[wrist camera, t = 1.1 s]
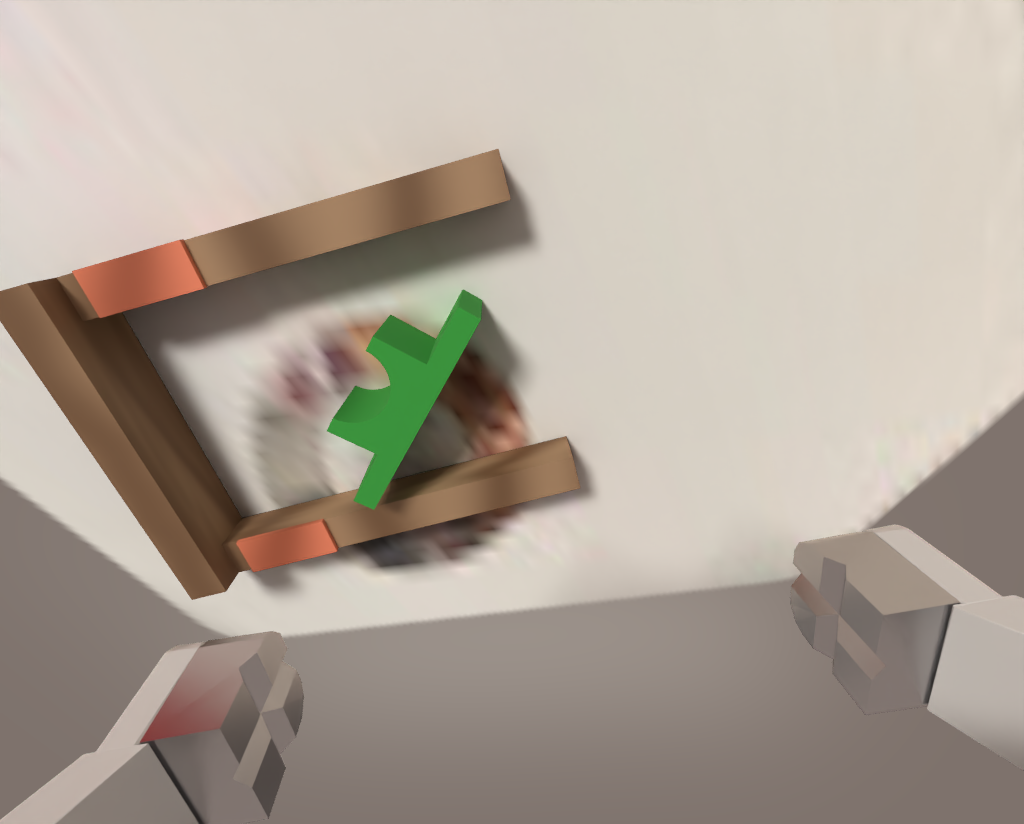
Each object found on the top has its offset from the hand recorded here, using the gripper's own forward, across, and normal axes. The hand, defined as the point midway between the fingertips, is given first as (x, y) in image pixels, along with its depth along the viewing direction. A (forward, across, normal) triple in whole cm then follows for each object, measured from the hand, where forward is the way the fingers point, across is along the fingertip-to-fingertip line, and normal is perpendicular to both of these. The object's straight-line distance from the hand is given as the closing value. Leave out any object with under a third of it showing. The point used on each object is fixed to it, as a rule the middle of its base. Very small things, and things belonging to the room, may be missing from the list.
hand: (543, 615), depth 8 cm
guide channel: (+20, +8, +1) cm, 22 cm away
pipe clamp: (+20, +5, +2) cm, 21 cm away
